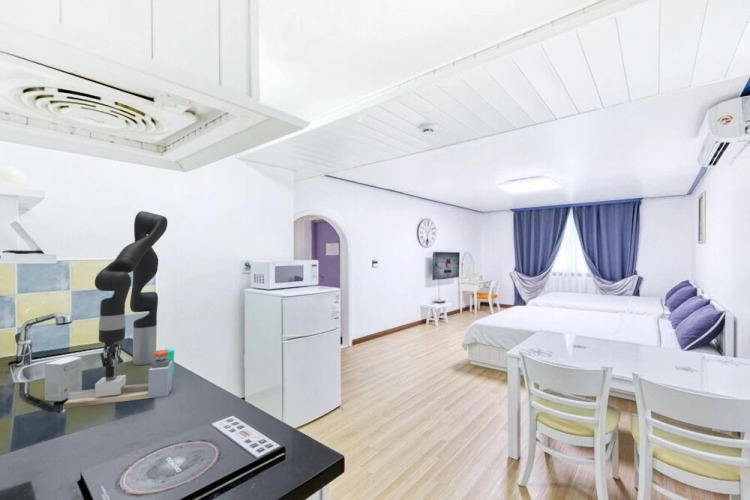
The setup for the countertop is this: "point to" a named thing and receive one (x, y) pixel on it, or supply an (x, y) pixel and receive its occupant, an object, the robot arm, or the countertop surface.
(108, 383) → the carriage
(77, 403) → the rail
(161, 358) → the button
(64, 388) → the small box
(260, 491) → the countertop surface
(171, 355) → the candle
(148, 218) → the robot arm
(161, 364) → the push button housing
